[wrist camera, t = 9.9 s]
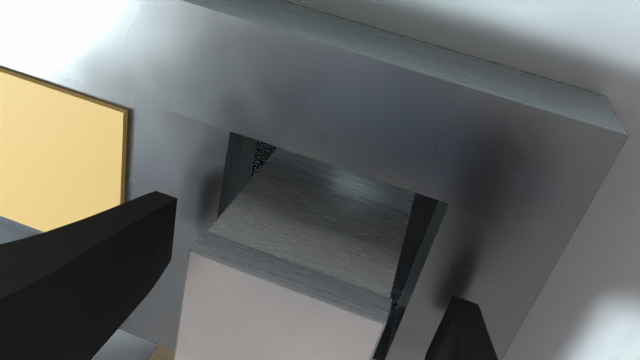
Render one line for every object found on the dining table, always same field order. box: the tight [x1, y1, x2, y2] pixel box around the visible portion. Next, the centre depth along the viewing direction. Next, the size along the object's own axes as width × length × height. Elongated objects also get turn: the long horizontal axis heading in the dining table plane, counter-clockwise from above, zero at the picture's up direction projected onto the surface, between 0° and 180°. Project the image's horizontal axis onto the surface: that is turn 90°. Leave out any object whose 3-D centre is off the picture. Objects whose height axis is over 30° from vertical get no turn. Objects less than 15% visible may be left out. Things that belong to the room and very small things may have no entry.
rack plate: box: [0, 0, 629, 360], centre depth 16 cm, size 11×17×3 cm, turn 77°
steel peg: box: [174, 147, 415, 360], centre depth 14 cm, size 4×4×6 cm
